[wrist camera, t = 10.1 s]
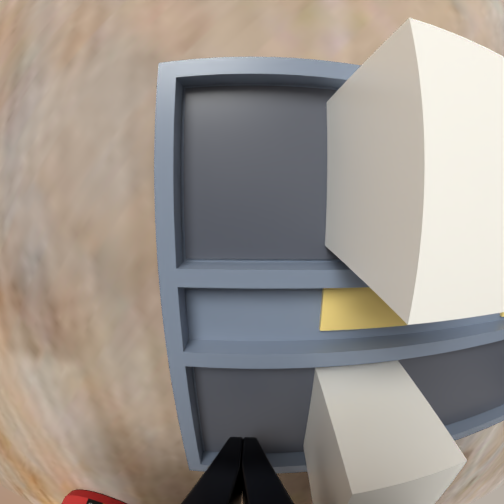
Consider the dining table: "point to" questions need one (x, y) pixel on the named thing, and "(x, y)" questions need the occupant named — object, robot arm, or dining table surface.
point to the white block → (376, 439)
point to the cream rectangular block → (421, 175)
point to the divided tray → (278, 267)
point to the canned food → (88, 498)
